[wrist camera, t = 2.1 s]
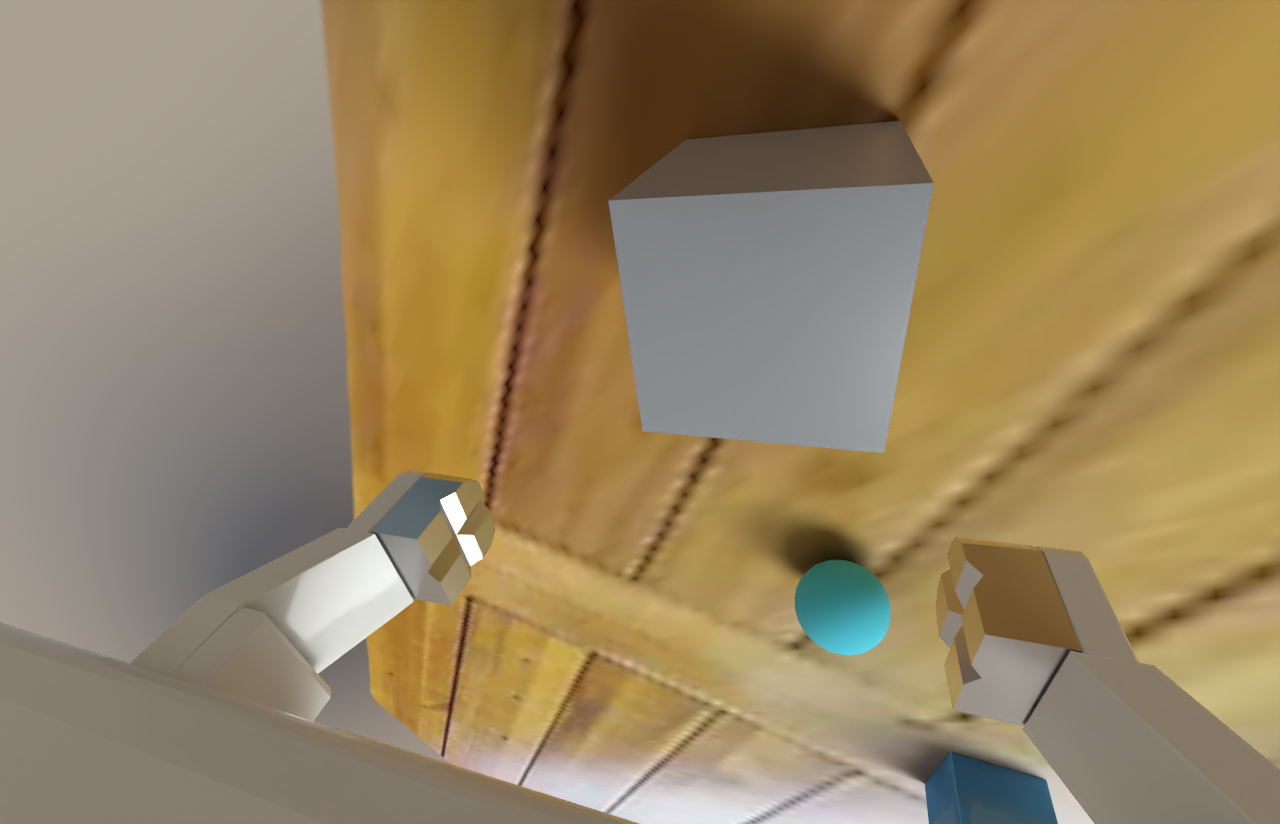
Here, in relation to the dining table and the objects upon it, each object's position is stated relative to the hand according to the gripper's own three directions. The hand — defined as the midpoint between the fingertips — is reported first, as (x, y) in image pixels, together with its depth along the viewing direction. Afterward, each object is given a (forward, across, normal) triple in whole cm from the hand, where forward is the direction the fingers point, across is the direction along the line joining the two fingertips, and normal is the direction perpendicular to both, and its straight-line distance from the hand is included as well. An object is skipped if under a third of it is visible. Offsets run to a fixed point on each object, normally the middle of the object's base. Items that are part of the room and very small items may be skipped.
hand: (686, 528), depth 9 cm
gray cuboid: (+16, 0, 0) cm, 16 cm away
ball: (+14, -4, +20) cm, 24 cm away
